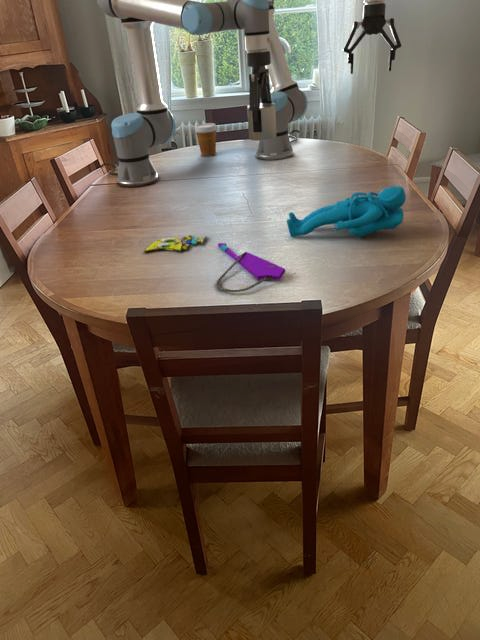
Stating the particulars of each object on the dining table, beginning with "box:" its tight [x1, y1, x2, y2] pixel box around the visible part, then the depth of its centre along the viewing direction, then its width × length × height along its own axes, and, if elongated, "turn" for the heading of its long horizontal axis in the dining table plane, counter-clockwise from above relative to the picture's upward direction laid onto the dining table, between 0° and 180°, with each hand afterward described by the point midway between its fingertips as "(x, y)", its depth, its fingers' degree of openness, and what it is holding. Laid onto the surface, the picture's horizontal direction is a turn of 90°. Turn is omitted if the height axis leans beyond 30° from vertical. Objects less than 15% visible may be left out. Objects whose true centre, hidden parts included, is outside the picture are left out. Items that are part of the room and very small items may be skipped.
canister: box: [246, 103, 276, 142], centre depth 157 cm, size 9×9×10 cm
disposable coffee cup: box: [194, 122, 218, 157], centre depth 207 cm, size 10×10×12 cm
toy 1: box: [144, 234, 207, 254], centre depth 130 cm, size 10×1×15 cm
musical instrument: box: [216, 242, 286, 293], centre depth 114 cm, size 24×2×20 cm
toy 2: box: [286, 185, 407, 238], centre depth 125 cm, size 17×11×30 cm
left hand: (262, 128), depth 159 cm, fingers closed on canister, 9 cm apart
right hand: (370, 72), depth 177 cm, fingers open, 13 cm apart
